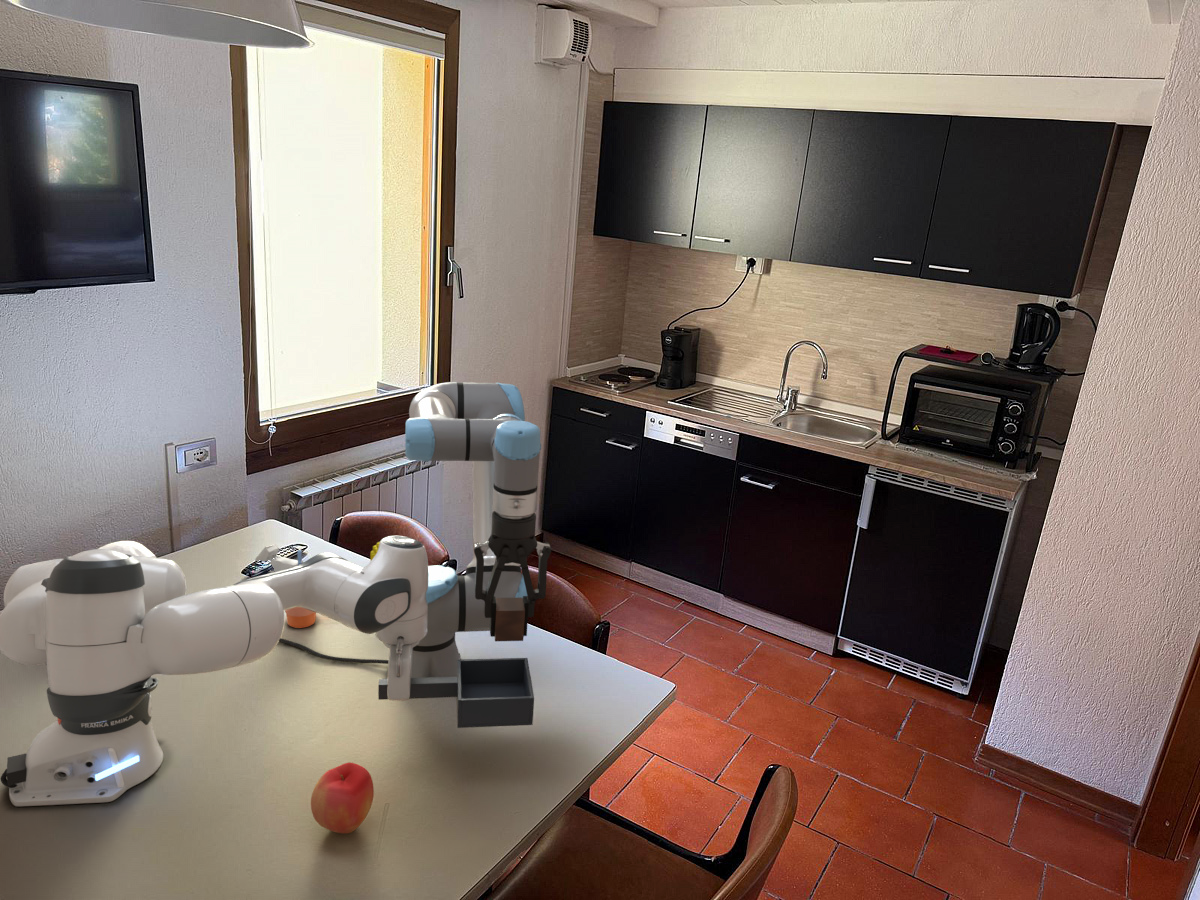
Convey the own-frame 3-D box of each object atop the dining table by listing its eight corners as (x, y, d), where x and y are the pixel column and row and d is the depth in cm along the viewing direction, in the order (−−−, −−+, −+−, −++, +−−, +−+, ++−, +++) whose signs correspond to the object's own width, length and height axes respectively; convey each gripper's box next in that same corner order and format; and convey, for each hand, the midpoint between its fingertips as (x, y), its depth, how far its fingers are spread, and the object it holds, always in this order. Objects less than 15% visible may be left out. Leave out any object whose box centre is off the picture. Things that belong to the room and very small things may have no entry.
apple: (348, 797, 145) (348, 747, 142) (386, 823, 140) (386, 772, 137) (300, 828, 137) (298, 775, 134) (338, 857, 132) (337, 803, 129)
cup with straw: (309, 634, 194) (307, 561, 188) (272, 627, 195) (269, 555, 190) (329, 615, 202) (328, 546, 197) (294, 609, 204) (292, 540, 198)
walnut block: (494, 641, 150) (496, 610, 148) (493, 627, 155) (494, 597, 153) (523, 641, 151) (525, 610, 149) (520, 627, 156) (522, 597, 154)
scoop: (376, 731, 147) (375, 703, 145) (381, 687, 159) (381, 661, 158) (532, 725, 152) (534, 697, 150) (526, 683, 164) (527, 657, 162)
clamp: (253, 565, 223) (254, 542, 221) (265, 560, 226) (266, 537, 224) (309, 593, 215) (310, 569, 213) (320, 588, 218) (321, 564, 216)
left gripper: (418, 655, 140) (417, 727, 144) (421, 596, 159) (420, 662, 163) (378, 655, 138) (378, 728, 142) (386, 597, 158) (386, 662, 162)
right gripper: (461, 519, 141) (457, 644, 148) (569, 520, 144) (560, 642, 151) (460, 503, 148) (456, 622, 155) (563, 504, 151) (555, 621, 158)
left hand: (401, 692), depth 153 cm, fingers closed on scoop
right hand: (508, 632), depth 153 cm, fingers closed on walnut block, 5 cm apart
